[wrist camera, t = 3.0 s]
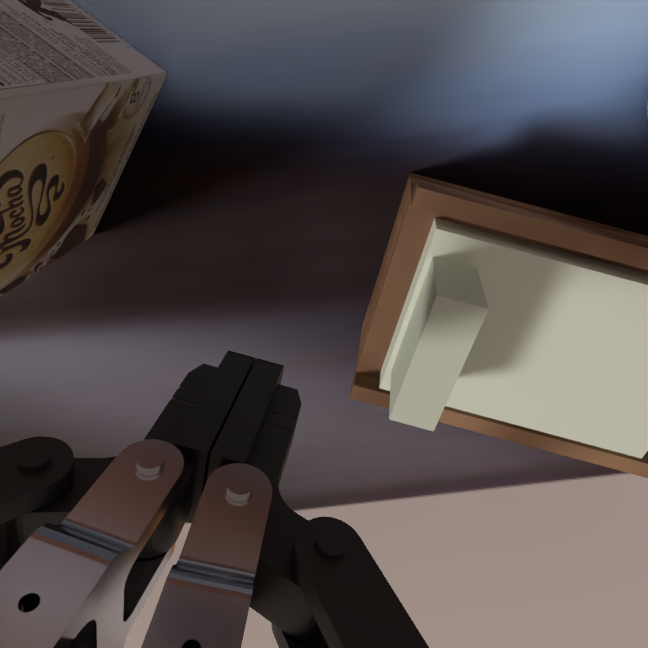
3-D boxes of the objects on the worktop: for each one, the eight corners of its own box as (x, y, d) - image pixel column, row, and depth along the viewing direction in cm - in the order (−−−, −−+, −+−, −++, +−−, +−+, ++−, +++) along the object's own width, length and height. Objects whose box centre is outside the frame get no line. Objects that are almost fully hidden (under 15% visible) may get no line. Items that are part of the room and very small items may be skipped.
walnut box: (358, 338, 26) (349, 397, 22) (415, 155, 21) (417, 187, 17) (627, 410, 26) (670, 484, 22) (743, 243, 21) (827, 296, 17)
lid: (380, 371, 22) (375, 438, 18) (434, 217, 18) (441, 263, 15) (630, 438, 22) (674, 519, 18) (733, 297, 18) (813, 362, 15)
